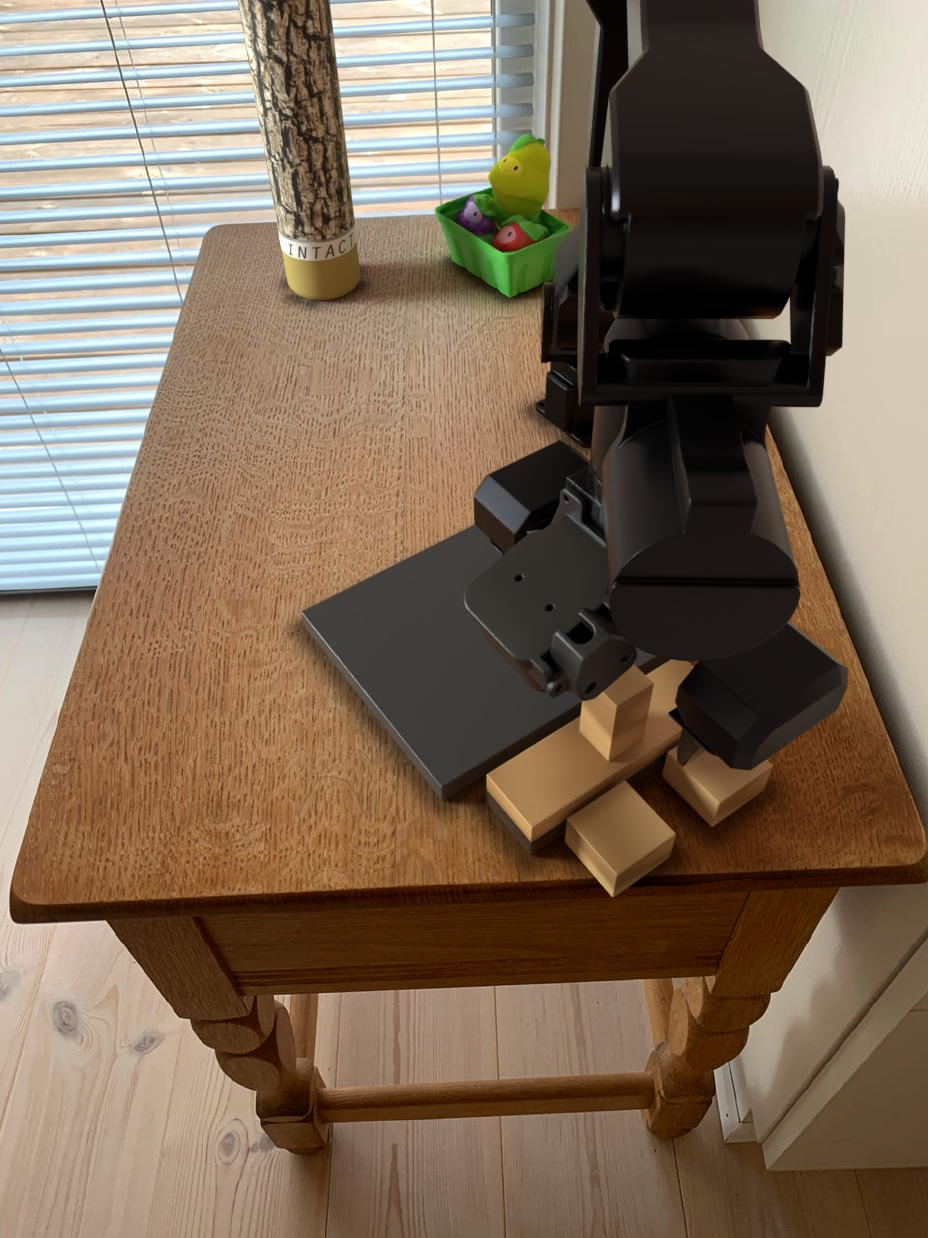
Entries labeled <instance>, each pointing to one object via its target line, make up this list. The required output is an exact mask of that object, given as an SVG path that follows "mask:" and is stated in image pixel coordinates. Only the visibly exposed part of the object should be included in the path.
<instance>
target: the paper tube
mask: <svg viewBox="0 0 928 1238" xmlns="http://www.w3.org/2000/svg"><path fill="white" fill-rule="evenodd" d="M237 4H238V9H239V15H240V22H241V27H242V33H243V38H244V45H245V49H246V55H247V61H248V66H249V73H250V78H251V83H252V90H253V94H254V95H253V96H254V101H255V106H256V111H257V118H258V124H259V129H260V136H261V141H262V146H263V147H262V148H263V152H264V157H265V163H266V169H267V175H268V180H269V186H270V191H271V198H272V204H273V209H274V214H275V220H276V226H277V231H278V237H279V244H280V248H281V253H282V259H283V264H284V270H285V276H286V281H287V282H286V283H287V284H288V287H289V288H290V289H291V290H292V291H293V293H294V294H296V295H297V296H300V297H302V298H304V299H308V300H313V301H328V300H333V299H337V298H341V297H343V296H345V295H347V294H349V293H350V292H352V291H353V290H355V288H356V287H357V286H358V285H359V282H360V280H361V267H360V259H359V249H358V248H359V247H358V242H357V241H358V238H357V237H358V236H357V230H356V229H357V228H356V221H355V212H354V203H353V193H352V185H351V176H350V168H349V167H350V166H349V159H348V149H347V141H346V133H345V124H344V114H343V106H342V105H343V104H342V96H341V88H340V80H339V72H338V71H339V70H338V63H337V62H338V61H337V54H336V53H337V52H336V45H335V43H336V42H335V36H334V27H333V19H332V10H331V9H332V8H331V1H330V0H237Z"/></svg>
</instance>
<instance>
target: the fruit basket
mask: <svg viewBox="0 0 928 1238" xmlns="http://www.w3.org/2000/svg"><path fill="white" fill-rule="evenodd" d="M545 144H546V140H545V139H544V138H542V137H538V138H537V137H535V136H534V135H533V134H530V133H525V134H523V135H521V136H519V137H518V138H517V139H516V140H515V142H514V143H513V144H512V147H510V148H509V152H508V154H505V155H504V156H502V157H501V158H500V159H499V160H498V161H496V162H495V164H494V165H493V166H492V168H491V169H490V171H489V174H488V176H487V178H488V181H489V183H490V186H491V187H487V188H484V189H482V190H479V191H474V192H472V193H469V194H466V195H464V196H461V197H457V198H455V199H452V200H450V201H446V202H444V203H442V204H439V205H438V206H436V207H435V208H434V213H435V216H436V218H437V221H438V223H440V225H441V229H442V232H443V236H444V238H445V242H446V245H447V248H448V250H449V254H450V258H451V260H452V262H454V263H456V264H457V265H459V266H460V267H462V268H465V269H466V270H467V271H468V272H469V273H471V274H472V275H474V276H475V277H477V278H481V280H482V281H483V282H484V283H486V284H487V285H489V286H491V287H492V288H495V289H497V290H498V291H499V292H500V293H501V294H503V295H504V296H506V297H507V298H513V297H515V296H516V295H518V294H521V293H524V292H527V291H529V290H532V289H533V288H536V287H538V286H540V285H541V284H543V282H551V281H553V271H554V256H555V249H556V247H557V246H558V245H559V244H560V243H561V242H562V241H563V239H564V238H565V237H566V236H567V235H568V234H569V233H570V232H571V226H570V224H568V223H566V222H565V221H563V220H561V219H559V218H558V217H556V216H554V215H552V214H551V213H550V212H547V211H546V210H544V209H543V206H544V205H545V203H546V201H547V199H548V196H549V192H550V169H551V165H552V157H551V155H550V153H549V151H548V149H547V148H546V147H545Z"/></svg>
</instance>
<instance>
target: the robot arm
mask: <svg viewBox="0 0 928 1238" xmlns="http://www.w3.org/2000/svg"><path fill="white" fill-rule="evenodd" d="M585 2H586V4H587V6H588V8H589V9H590V11H591V13H592V15H593V16H594V18H595V29H594V31H595V32H594V42H593V57H592V66H591V67H592V68H591V81H590V91H589V104H588V105H589V107H588V117H587V131H586V142H585V144H586V145H585V153H584V154H585V155H584V165H583V166H584V167H583V172H582V176H581V177H582V178H581V179H582V180H581V189H580V203H579V219H578V220H579V222H578V223H577V224H576V225H575V226H574V227H573V228H572V229H571V230H570V231H569V234H568V235H567V236H566V237H565V238H564V239H563V241H562V242H561V243H560V244H559V245H558V246H557V247H556V249H555V256H554V271H553V278H552V281H547V282H542V292H541V299H540V300H541V301H540V303H541V304H540V364H548V363H550V365H549V371H548V372H546V375H545V377H546V378H545V396H544V397H545V398H543V399H541V400H538V401H537V402H536V403H535V411H536V412H537V413H539V414H540V415H541V416H542V417H544V418H545V419H546V421H549V422H550V423H551V424H552V425H553V426H555V427H556V428H557V429H559V431H561V432H562V433H563V434H565V435H566V436H567V437H569V438H570V439H571V440H572V441H574V442H575V443H576V444H577V445H578V446H580V447H581V448H583V449H590V456H589V459H588V458H587V457H586V456H585V455H584V454H582V453H581V452H580V451H579V450H577V449H576V448H575V447H574V446H572V445H571V444H568V443H566V442H565V441H563V440H561V439H559V440H557V441H554V442H553V443H550V444H548V445H546V446H544V447H542V448H540V449H537V450H535V451H533V452H532V453H528V454H527V455H525V456H523V457H521V458H519V459H517V460H515V461H513V462H510V463H509V464H506V465H504V466H503V467H500V468H498V469H496V470H494V471H492V472H490V473H488V474H485V476H484V477H483V478H482V481H480V483H479V485H478V486H477V487H476V489H475V491H474V494H473V523H474V524H475V525H476V526H477V527H478V528H479V529H480V530H481V531H482V532H483V533H484V534H485V535H486V536H487V537H489V538H490V543H491V545H492V546H493V547H494V548H495V549H496V550H497V551H498V552H499V553H500V554H501V555H502V556H501V557H500V558H499V559H498V560H497V561H496V562H494V563H493V564H492V565H491V566H490V567H488V568H487V569H486V570H485V571H484V572H482V573H481V574H480V575H479V576H478V577H477V578H475V579H474V580H473V581H472V582H471V583H470V584H469V585H468V587H467V589H466V591H465V594H464V604H465V606H466V608H467V610H468V612H469V613H470V615H471V616H472V618H473V619H474V621H475V623H476V624H477V626H478V627H479V629H480V630H481V632H482V634H483V635H484V637H485V638H486V640H487V641H488V643H489V644H490V645H491V646H492V647H493V648H494V649H495V650H496V651H497V652H498V653H499V654H500V655H501V656H502V657H503V658H504V659H505V660H506V661H507V662H508V664H509V665H510V666H511V667H512V668H513V669H514V670H515V671H516V672H517V673H518V674H519V675H520V676H521V678H522V679H523V680H524V681H525V682H526V683H527V684H528V685H529V686H530V687H531V688H532V689H534V690H536V691H539V692H547V694H548V695H549V696H550V697H551V698H555V697H558V696H560V695H561V694H562V693H564V692H565V691H572V692H574V693H575V694H576V695H577V696H578V697H579V698H580V699H581V700H582V701H588V700H592V699H595V698H596V697H597V696H599V695H600V694H601V693H602V692H603V691H604V690H606V689H607V688H608V687H609V686H610V685H611V684H612V683H614V682H615V681H616V680H617V679H618V678H619V677H621V676H622V675H623V674H624V673H625V672H626V671H627V670H629V669H630V668H631V667H632V665H633V664H634V662H635V660H636V658H637V650H636V647H637V648H639V649H640V650H642V651H644V652H647V653H649V654H652V655H655V656H658V657H661V658H667V659H673V660H679V661H688V662H697V663H696V664H695V665H693V666H694V668H693V669H692V670H691V671H690V673H689V674H688V675H687V676H686V678H685V679H684V680H683V681H682V682H681V684H680V685H679V686H678V690H677V695H676V699H675V703H676V705H677V707H676V708H675V709H673V710H671V711H670V712H669V713H668V715H669V716H670V717H671V718H672V719H673V720H674V721H675V722H676V723H677V724H678V725H679V726H680V727H682V731H681V735H680V739H679V743H678V747H677V762H678V763H679V764H680V765H681V766H685V765H687V764H688V763H690V762H691V761H693V760H694V759H696V758H697V757H698V756H700V755H701V754H702V753H703V752H704V751H705V750H706V751H707V752H708V753H710V754H711V755H714V756H718V757H719V758H720V759H721V760H722V761H723V762H724V763H725V764H726V765H727V766H729V767H730V768H733V769H741V770H748V771H751V770H752V769H754V768H755V767H757V766H758V765H759V764H761V763H762V762H764V761H765V760H767V761H768V759H769V758H771V757H772V756H774V755H775V754H777V753H778V752H779V751H782V749H784V748H785V747H787V746H788V745H790V744H792V742H794V741H795V740H796V739H798V738H800V737H801V736H802V735H804V734H805V733H806V732H808V731H810V730H811V729H812V728H814V727H815V726H816V725H818V724H820V723H821V722H822V721H824V720H825V719H827V718H828V717H829V716H831V715H832V714H834V713H835V712H837V711H838V710H839V707H840V704H841V703H842V701H843V698H844V696H845V694H846V691H847V689H848V687H849V686H848V685H849V681H848V680H849V678H848V677H849V671H848V669H849V668H848V666H846V665H845V664H844V663H842V661H840V660H839V659H838V658H836V657H835V655H833V654H831V653H830V652H829V651H828V650H826V649H825V648H824V647H822V645H820V644H819V643H818V642H817V641H815V640H814V639H812V638H811V637H810V636H809V635H808V634H807V633H805V632H804V631H803V630H801V629H800V628H799V627H798V626H796V625H795V624H794V623H792V622H791V619H792V617H793V616H794V614H795V612H796V610H797V608H798V607H799V603H800V599H801V595H802V593H801V585H800V578H799V573H798V568H797V564H796V559H795V555H794V552H793V548H792V544H791V538H790V535H789V531H788V527H787V522H786V519H785V515H784V512H783V506H782V503H781V499H780V495H779V491H778V486H777V482H776V478H775V474H774V469H773V466H772V463H771V462H772V461H771V458H770V454H769V451H768V447H767V443H766V433H767V426H768V422H769V417H770V414H771V410H772V408H819V407H821V405H822V403H823V398H824V390H825V378H826V377H825V376H826V365H827V357H832V356H833V355H835V353H837V352H838V351H840V350H841V349H842V348H843V342H844V340H843V339H844V336H843V335H844V334H843V333H844V300H845V299H844V293H845V252H846V251H845V247H846V211H845V206H844V205H843V204H842V203H841V201H840V200H839V188H840V180H839V178H838V177H836V173H835V171H834V169H833V168H832V167H831V166H830V165H823V157H822V151H821V145H820V140H819V136H818V130H817V126H816V121H815V115H814V111H813V106H812V99H811V96H810V93H809V90H808V89H807V87H805V85H804V84H803V83H802V82H800V80H798V79H797V77H795V76H794V75H793V74H791V73H790V71H788V70H787V69H786V68H785V67H784V66H782V65H781V64H780V63H779V62H778V61H777V60H776V59H775V58H773V57H772V56H771V55H770V54H769V53H767V51H765V47H764V42H763V36H762V29H761V17H760V7H759V6H760V5H759V0H585ZM788 303H789V335H790V338H789V339H790V342H789V341H788V340H785V339H766V338H765V339H761V338H760V339H757V338H756V339H755V338H754V339H751V338H750V336H749V335H748V333H747V331H746V329H745V327H744V325H743V324H742V323H741V321H740V320H774V319H776V318H778V317H780V316H781V315H782V313H783V311H784V309H785V308H786V306H787V305H788ZM474 524H473V525H474Z"/></svg>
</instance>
